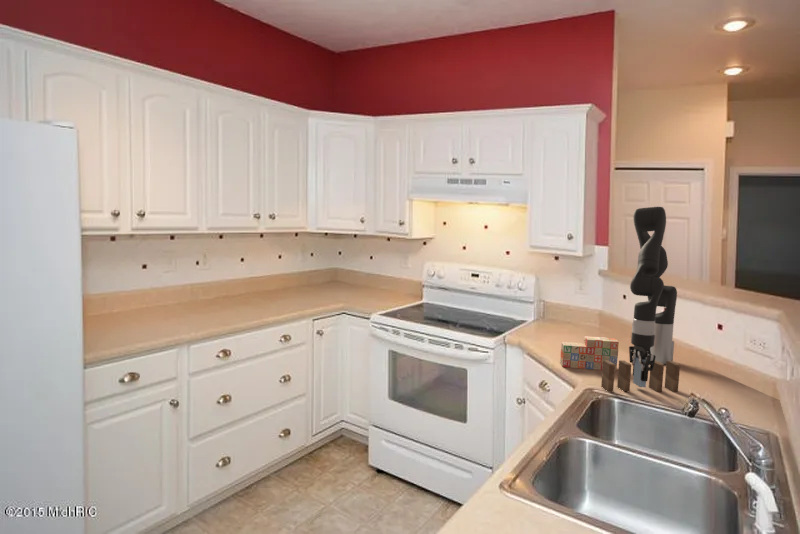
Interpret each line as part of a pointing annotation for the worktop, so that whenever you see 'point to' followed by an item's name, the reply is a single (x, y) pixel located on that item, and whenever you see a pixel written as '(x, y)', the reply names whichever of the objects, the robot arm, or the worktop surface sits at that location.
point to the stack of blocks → (589, 353)
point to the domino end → (608, 375)
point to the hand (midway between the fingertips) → (639, 378)
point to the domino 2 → (638, 374)
